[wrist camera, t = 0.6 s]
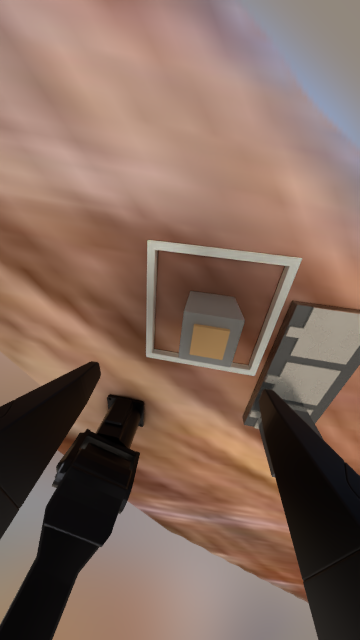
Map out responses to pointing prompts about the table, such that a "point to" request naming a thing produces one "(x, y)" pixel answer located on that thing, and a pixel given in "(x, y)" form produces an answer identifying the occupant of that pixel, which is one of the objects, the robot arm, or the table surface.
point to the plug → (210, 329)
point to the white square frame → (287, 261)
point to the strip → (309, 359)
